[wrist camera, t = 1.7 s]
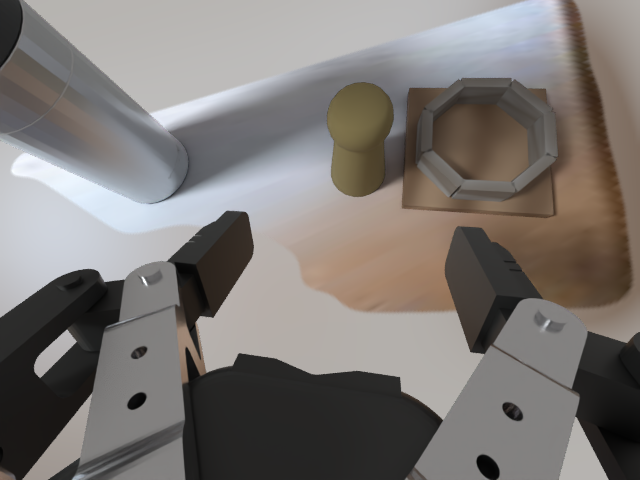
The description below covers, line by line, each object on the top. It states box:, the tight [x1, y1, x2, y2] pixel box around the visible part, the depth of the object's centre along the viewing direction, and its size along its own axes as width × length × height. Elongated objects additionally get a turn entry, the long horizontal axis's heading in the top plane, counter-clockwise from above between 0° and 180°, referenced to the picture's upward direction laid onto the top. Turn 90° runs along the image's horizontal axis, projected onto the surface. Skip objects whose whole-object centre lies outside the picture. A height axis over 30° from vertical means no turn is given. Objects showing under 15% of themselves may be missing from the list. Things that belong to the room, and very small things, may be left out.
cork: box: [327, 82, 394, 197], centre depth 25 cm, size 6×6×11 cm
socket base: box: [402, 78, 558, 218], centre depth 28 cm, size 14×14×4 cm
